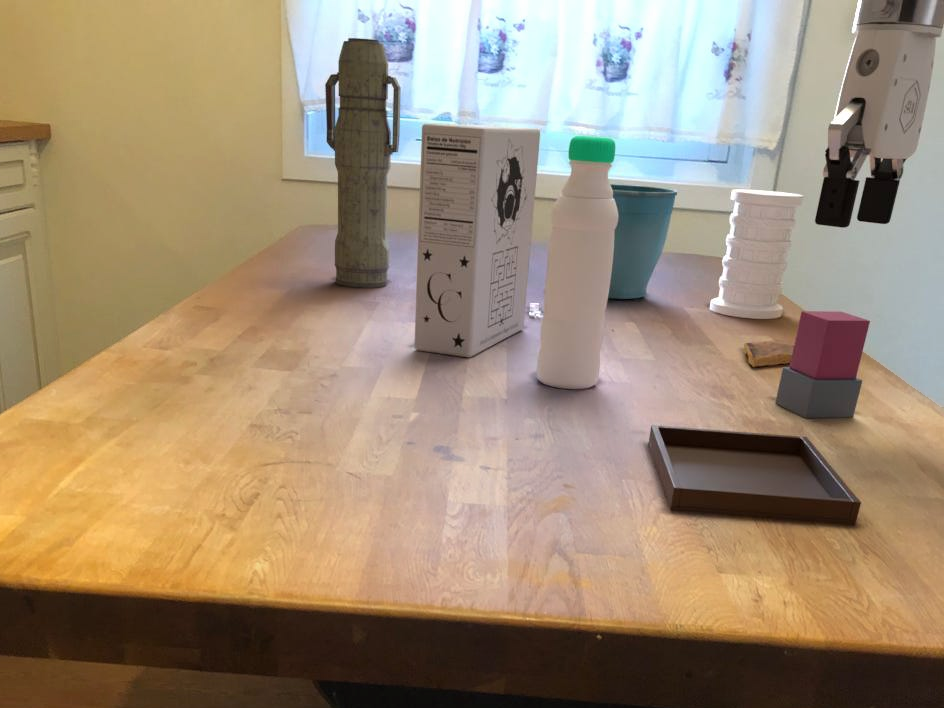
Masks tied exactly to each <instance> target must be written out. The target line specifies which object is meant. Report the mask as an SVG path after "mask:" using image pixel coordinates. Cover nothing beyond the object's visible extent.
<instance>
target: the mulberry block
mask: <svg viewBox="0 0 944 708" xmlns="http://www.w3.org/2000/svg"><path fill="white" fill-rule="evenodd" d="M870 323H871V321H870V320H869V319H865V318H863V317H860V316H857V315H853V314H850V313H847V312H845V311H825V310H824V311H820V310H819V311H818V310H817V311H816V310H814V311H812V310H811V311H810V310H808V311H807V310H802V311H801V312H800V317H799V321H798V325H797V326H798V327H797V331H796V335H795V338H794V339H795V340H794V344H793V345H794V349H793V353H792V358H791V363H789V366H788V367H789V368H791V369H793V370H795V371H798V372H800V373H802V374H804V375H807V376H809V377H811V378H814V379H856V378H857V376H858V372H859V368H860V363H861V359H862V357H863V356H862V355H863V351H864V347H865V344H866V339H867V335H868V331H869V327H870Z"/></svg>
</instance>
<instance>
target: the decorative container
mask: <svg viewBox="0 0 944 708" xmlns="http://www.w3.org/2000/svg"><path fill="white" fill-rule="evenodd" d="M803 199H804V195H803V194H800V193H799V194H798V193H792V192H785V191H775V190H774V191H773V190H761V189H760V190H759V189H742V188H741V189H739V188H737V189H732V190H731V194H730V200H731V201H733V202H734V205H733V209H732V213H730V216H729V224H730V226H729V232H728V234H727V235H726V238H725V245H726V251H725V254H724V256H723V257H722V259H721V263H722V264H721V266H722V267H723V268H722V273H721V276H720V277H719V280H718V287H719V291H718V297H715V298H713V299H711V300H710V304H709V310H710V311H712V312H714V313H717V314H719V315H725V316H730V317H735V318H742V319H753V320H754V319H756V320H772V319H773V320H774V319H778V318H781V317H782V314H783V309H784V308H783V306H782V305H780V304H779V303H778V301H779V295H780V293H782V290H783V282H782V281H783V276H784V273H785V272H786V270H787V267H788V263H787V256H788V252H789V251H790V249H791V247H792V240H791V237H792V231H793V229H795V226H796V218H795V217H796V216H795V215H796V211H797V207H799V206H802V204H803Z"/></svg>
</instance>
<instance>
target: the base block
mask: <svg viewBox="0 0 944 708" xmlns="http://www.w3.org/2000/svg"><path fill="white" fill-rule="evenodd" d="M789 367H790V366H788V367H787V366H783V367H782V369H781V374H780V379H779V383H778V388H777V393H776V398H775V404H776V405H778V406H780V407H782V408H785V409H786V410H788V411H790V412H792V413H794V414H796V415H798V416H801V417H803V418H804V419H830V418H831V419H833V418H854V416H855V412H856V408H857V404H858V400H859V397H860V396H859V395H860V393H861V388H862V385H863V379H860V378H858V377H856V379H814V378H811V377H809V376H807V375H804V374H802V373H800V372H798V371H795V370H793V369H791V368H789Z"/></svg>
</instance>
